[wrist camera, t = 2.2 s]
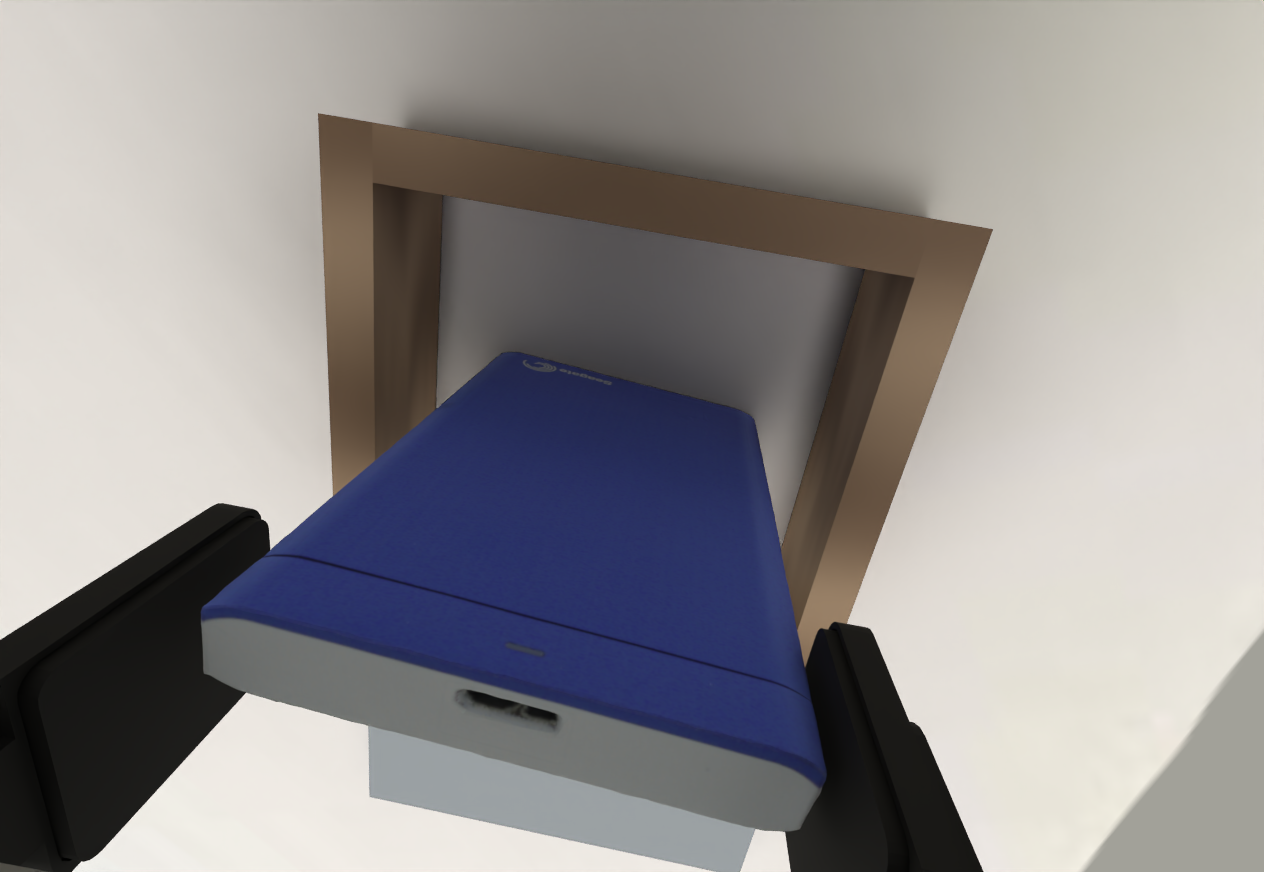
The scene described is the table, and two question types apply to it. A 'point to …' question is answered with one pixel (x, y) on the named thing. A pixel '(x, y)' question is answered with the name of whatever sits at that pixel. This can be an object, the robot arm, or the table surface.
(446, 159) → the wooden square frame
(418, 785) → the mat
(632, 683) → the hard drive
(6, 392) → the table surface
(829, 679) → the robot arm
